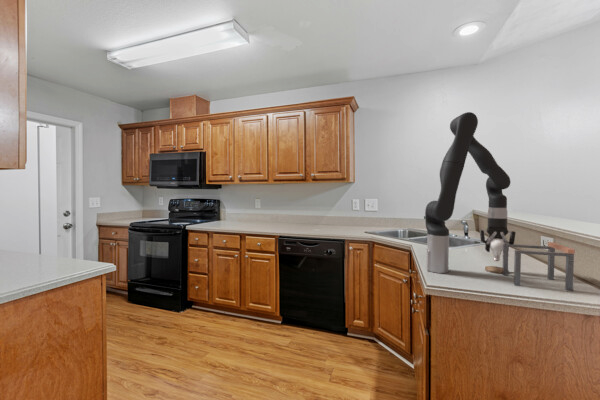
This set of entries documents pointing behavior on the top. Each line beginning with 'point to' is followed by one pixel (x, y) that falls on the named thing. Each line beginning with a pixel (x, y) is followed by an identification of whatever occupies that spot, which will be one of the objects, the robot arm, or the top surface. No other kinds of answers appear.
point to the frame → (550, 253)
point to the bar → (561, 248)
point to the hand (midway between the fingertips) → (496, 252)
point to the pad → (494, 269)
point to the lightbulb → (496, 248)
